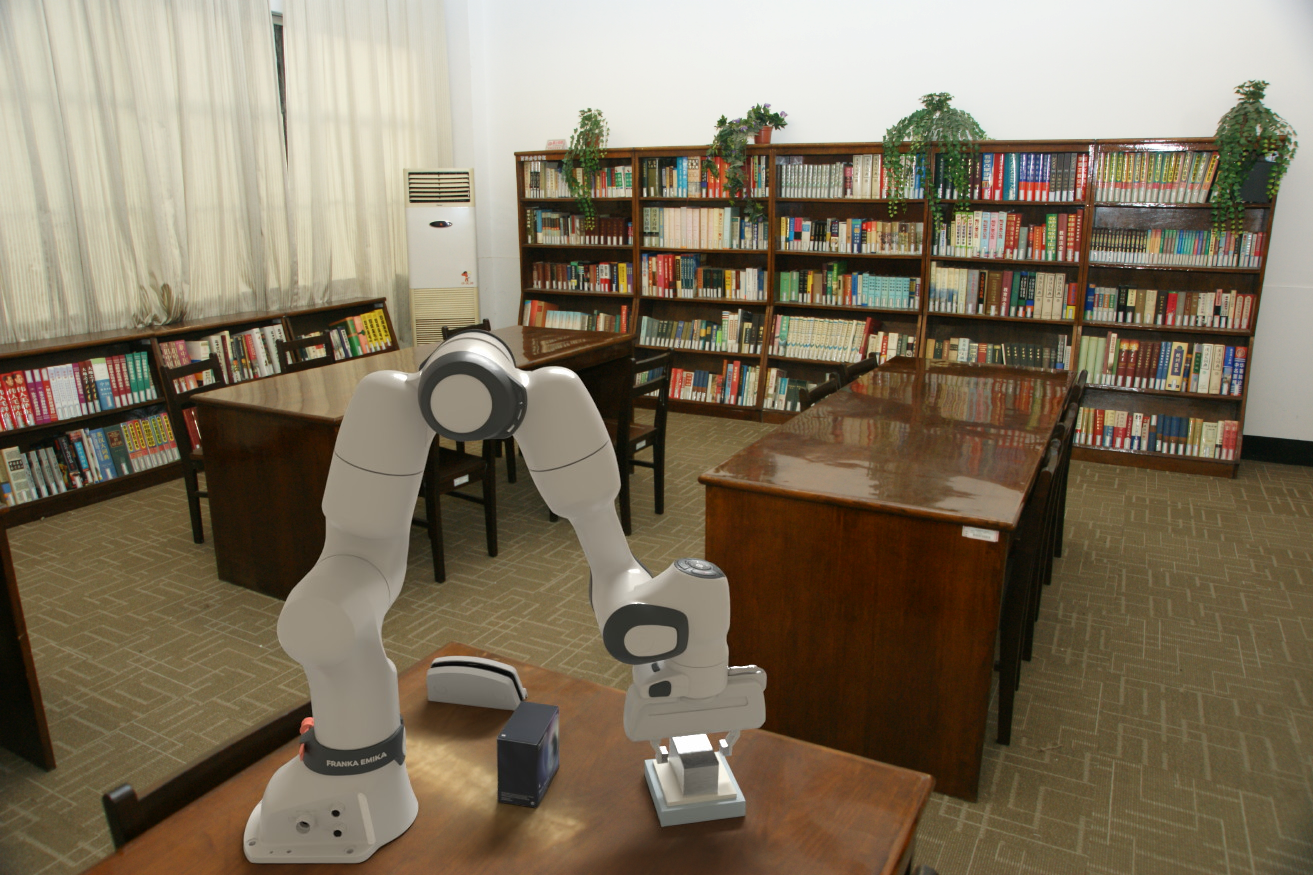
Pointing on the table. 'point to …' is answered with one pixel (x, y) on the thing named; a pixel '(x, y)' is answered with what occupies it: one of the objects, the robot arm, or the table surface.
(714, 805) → the stand
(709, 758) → the block
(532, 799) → the small box
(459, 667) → the white slotted block
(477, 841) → the table surface
